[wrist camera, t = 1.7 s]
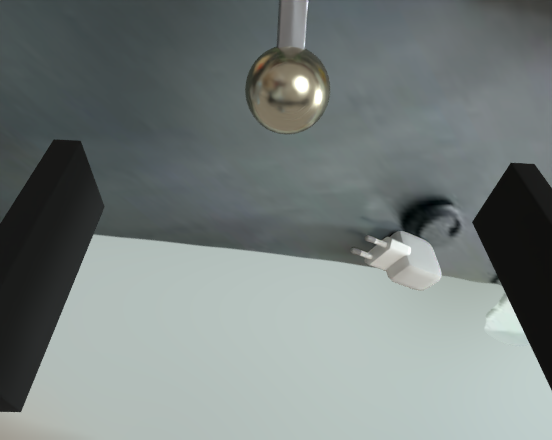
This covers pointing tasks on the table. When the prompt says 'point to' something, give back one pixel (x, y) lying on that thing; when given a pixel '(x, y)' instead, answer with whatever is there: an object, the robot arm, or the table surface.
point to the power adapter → (404, 259)
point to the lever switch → (288, 77)
